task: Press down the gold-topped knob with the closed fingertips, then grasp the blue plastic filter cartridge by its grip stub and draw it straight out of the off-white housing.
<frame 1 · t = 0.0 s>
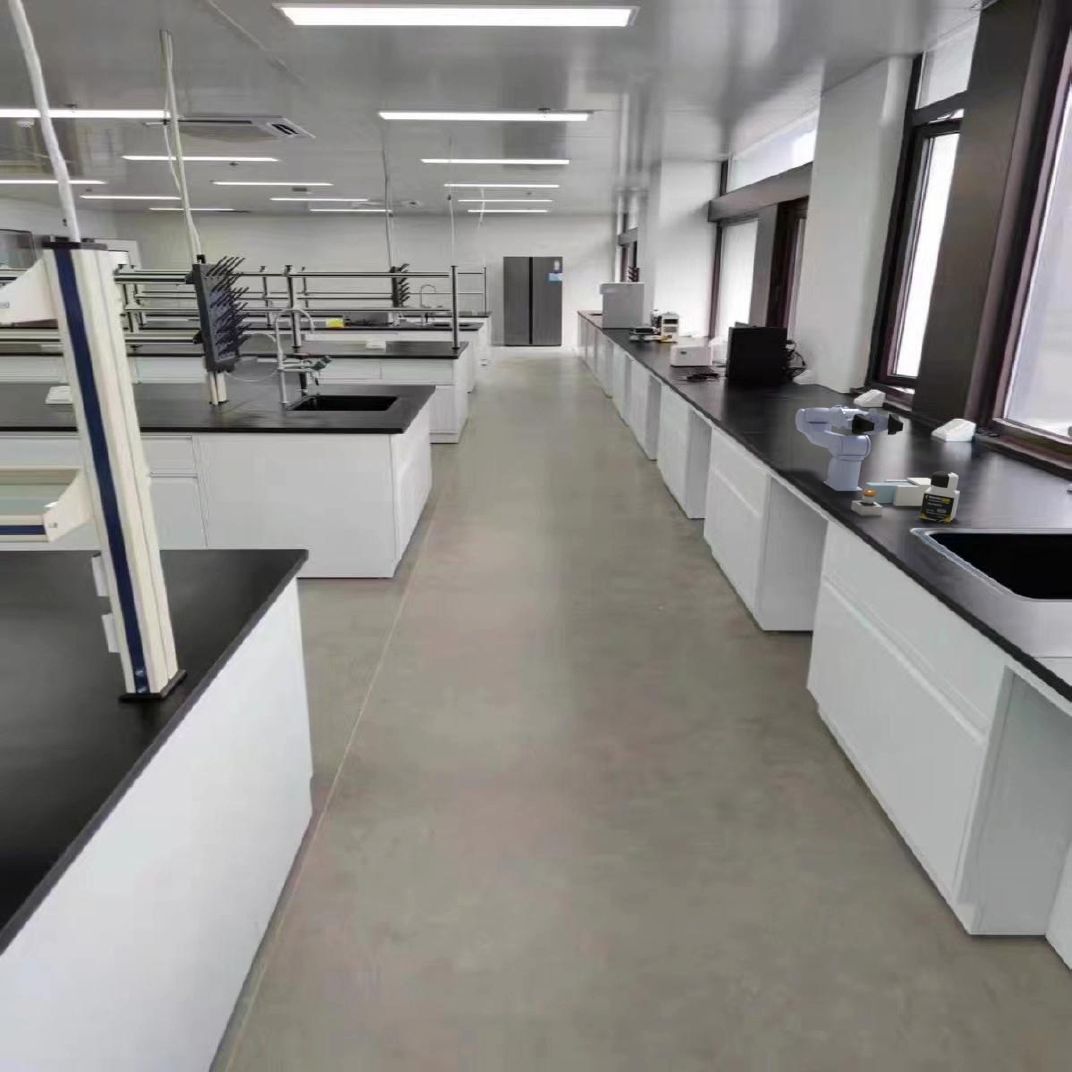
hand: (887, 426, 199), 22 cm above the counter, tool horizontal, fingers open, 7 cm apart
gold-topped knob: (868, 498, 199), point 4 cm above the counter, slide at 0.0 cm
housing: (909, 502, 211), on the counter
medicine bottle: (936, 518, 198), on the counter
cartridge: (897, 492, 210), point 3 cm above the counter, slide at 0.0 cm
plunger collar: (865, 512, 200), on the counter
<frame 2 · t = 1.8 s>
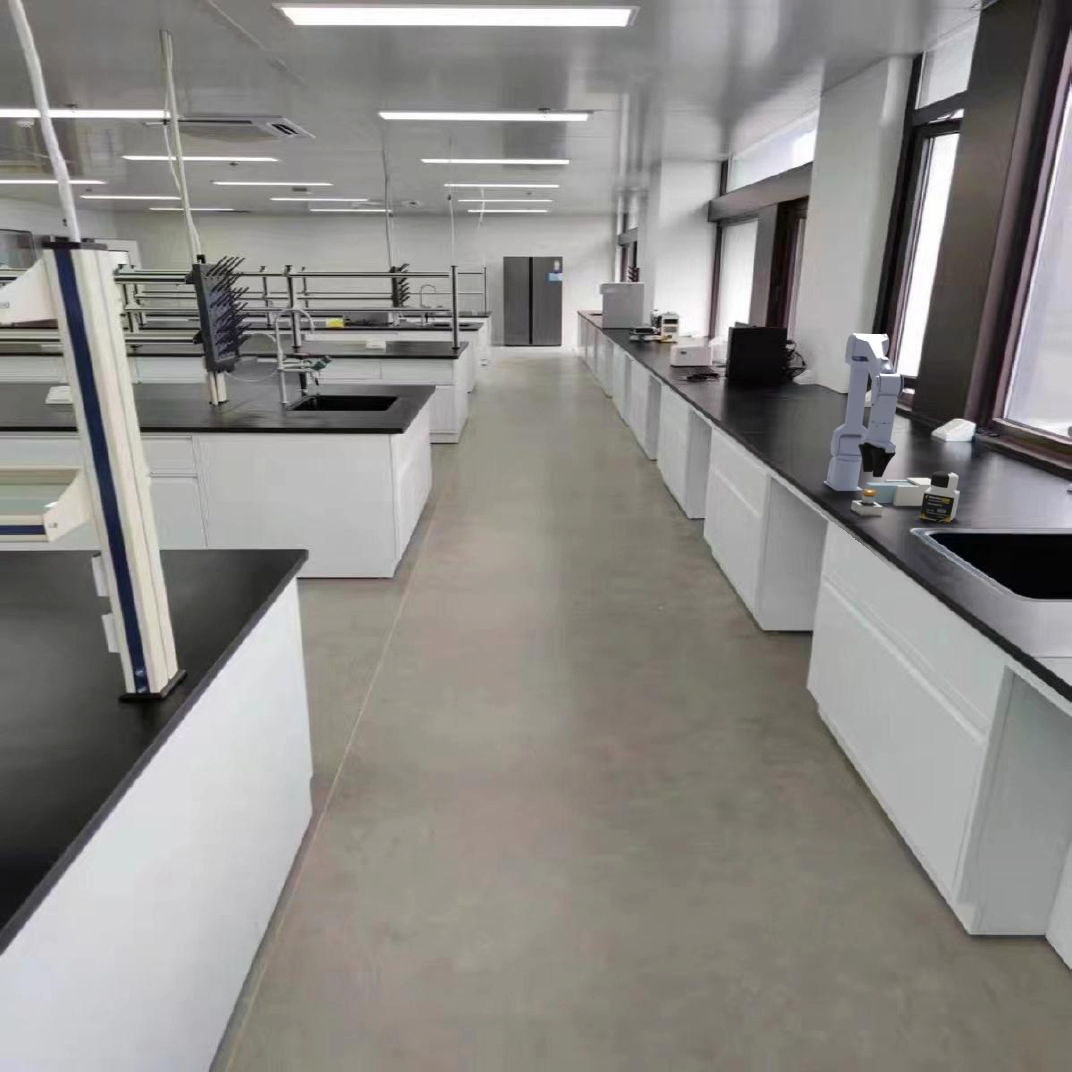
hand: (872, 474, 197), 10 cm above the counter, tool pointing down, fingers open, 5 cm apart
nothing on the counter moved.
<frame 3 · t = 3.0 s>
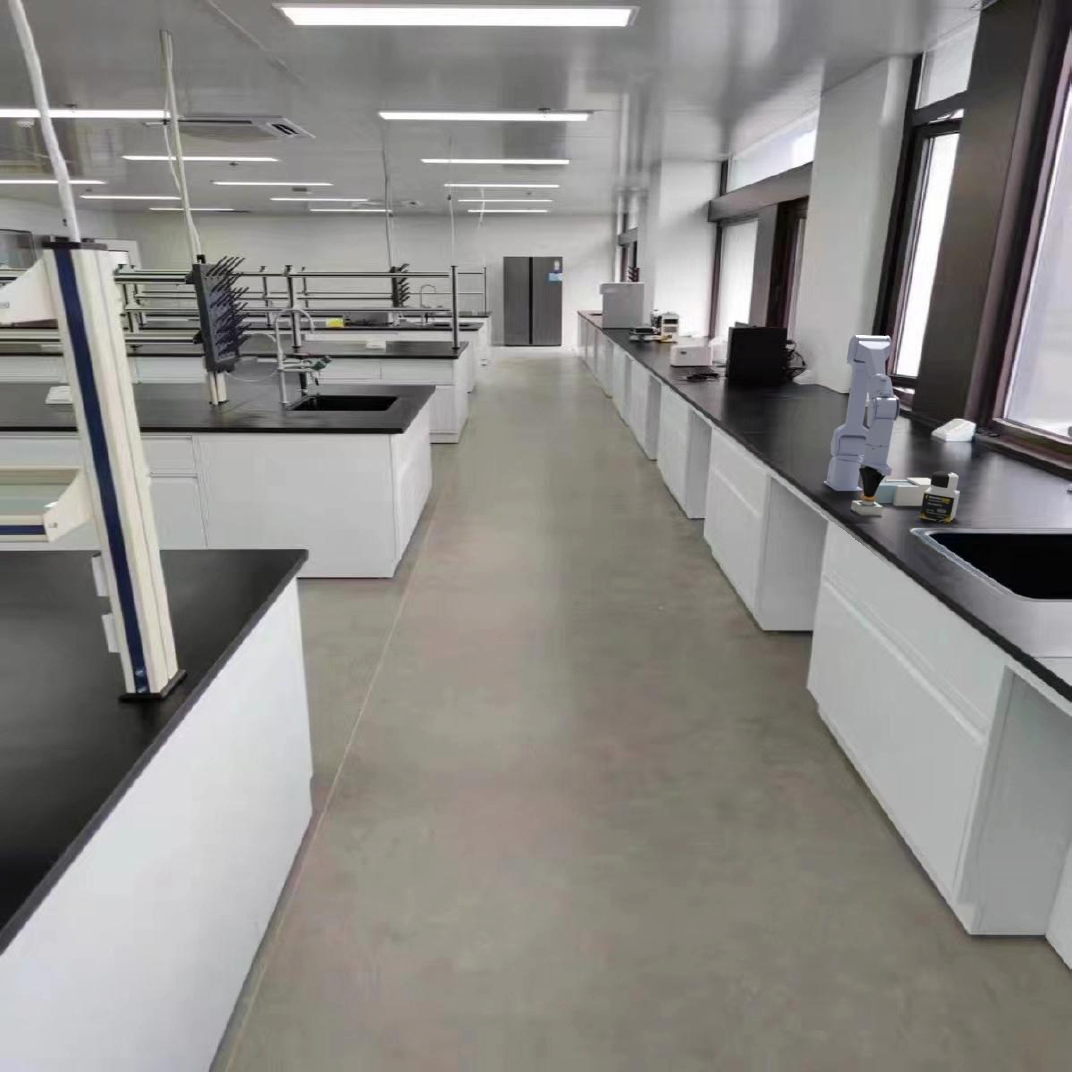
hand: (868, 496, 199), 5 cm above the counter, tool pointing down, fingers closed, pressing on gold-topped knob
gold-topped knob: (867, 503, 200), point 3 cm above the counter, slide at -1.3 cm, touching gripper
everything else where it was.
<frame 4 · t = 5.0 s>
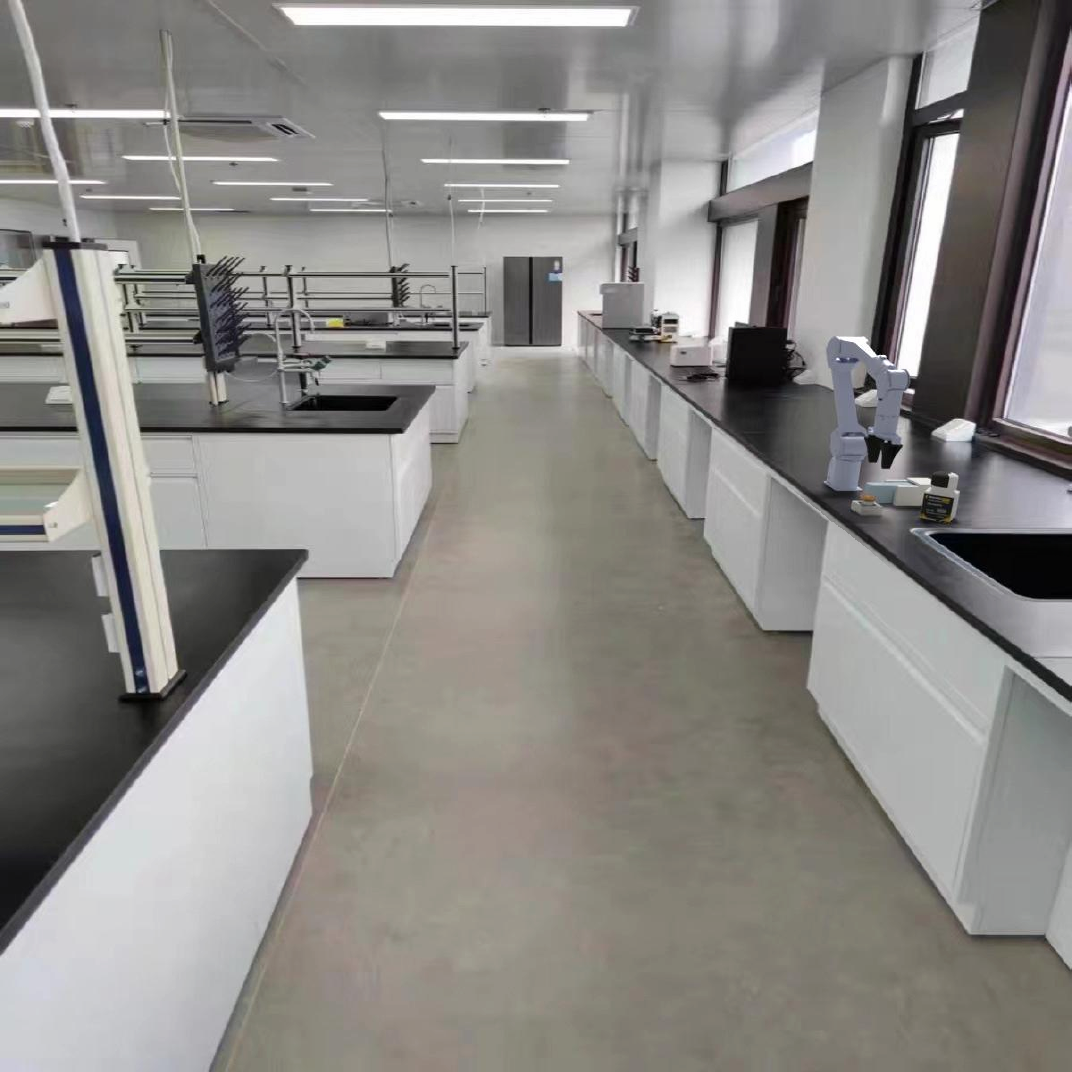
hand: (878, 465, 207), 10 cm above the counter, tool pointing down, fingers open, 7 cm apart
gold-topped knob: (867, 503, 200), point 3 cm above the counter, slide at -1.3 cm
everything else where it was.
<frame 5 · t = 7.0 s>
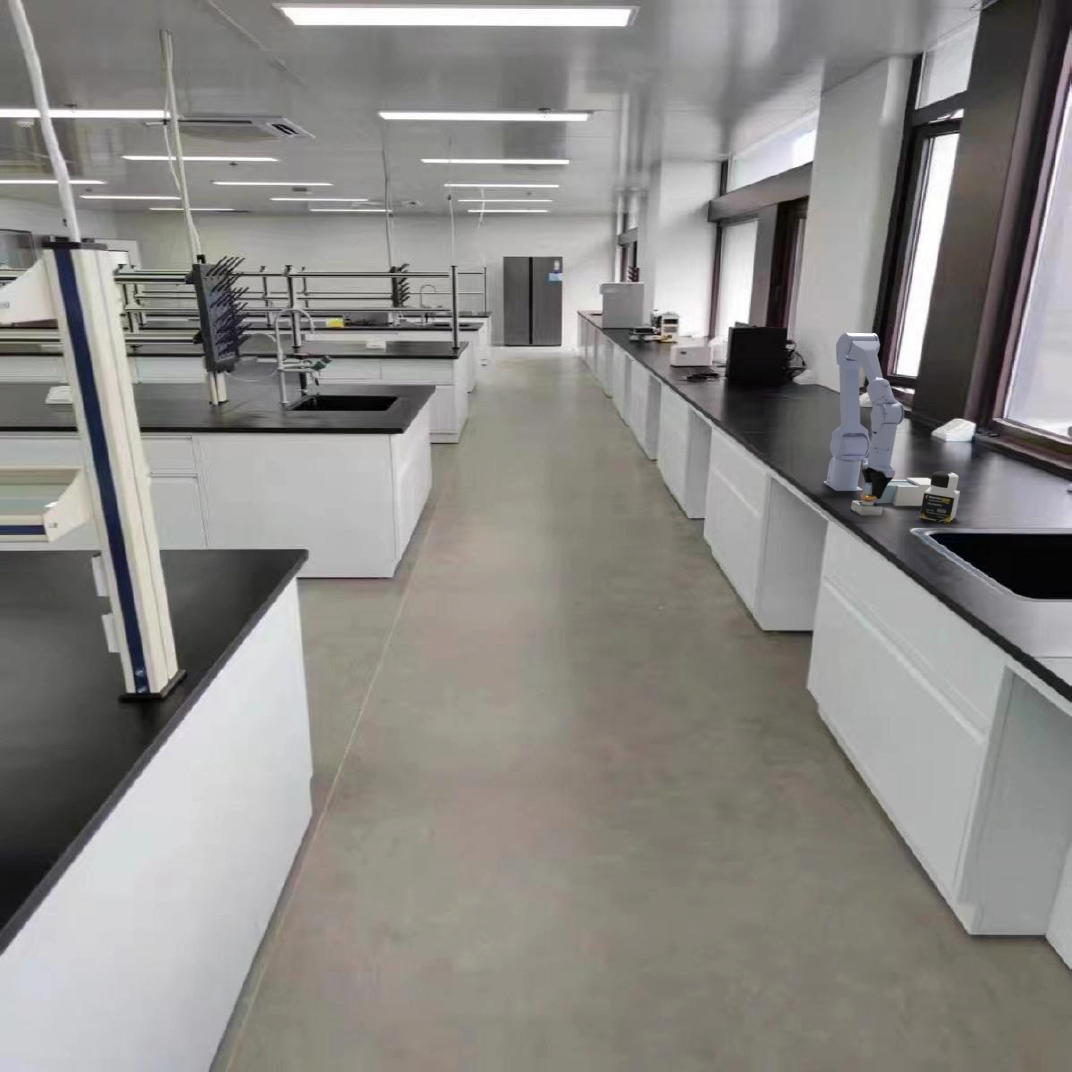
hand: (873, 496, 210), 2 cm above the counter, tool pointing down, fingers closed on cartridge, 3 cm apart
cartridge: (897, 492, 210), point 3 cm above the counter, slide at 0.0 cm, touching gripper
everything else where it was.
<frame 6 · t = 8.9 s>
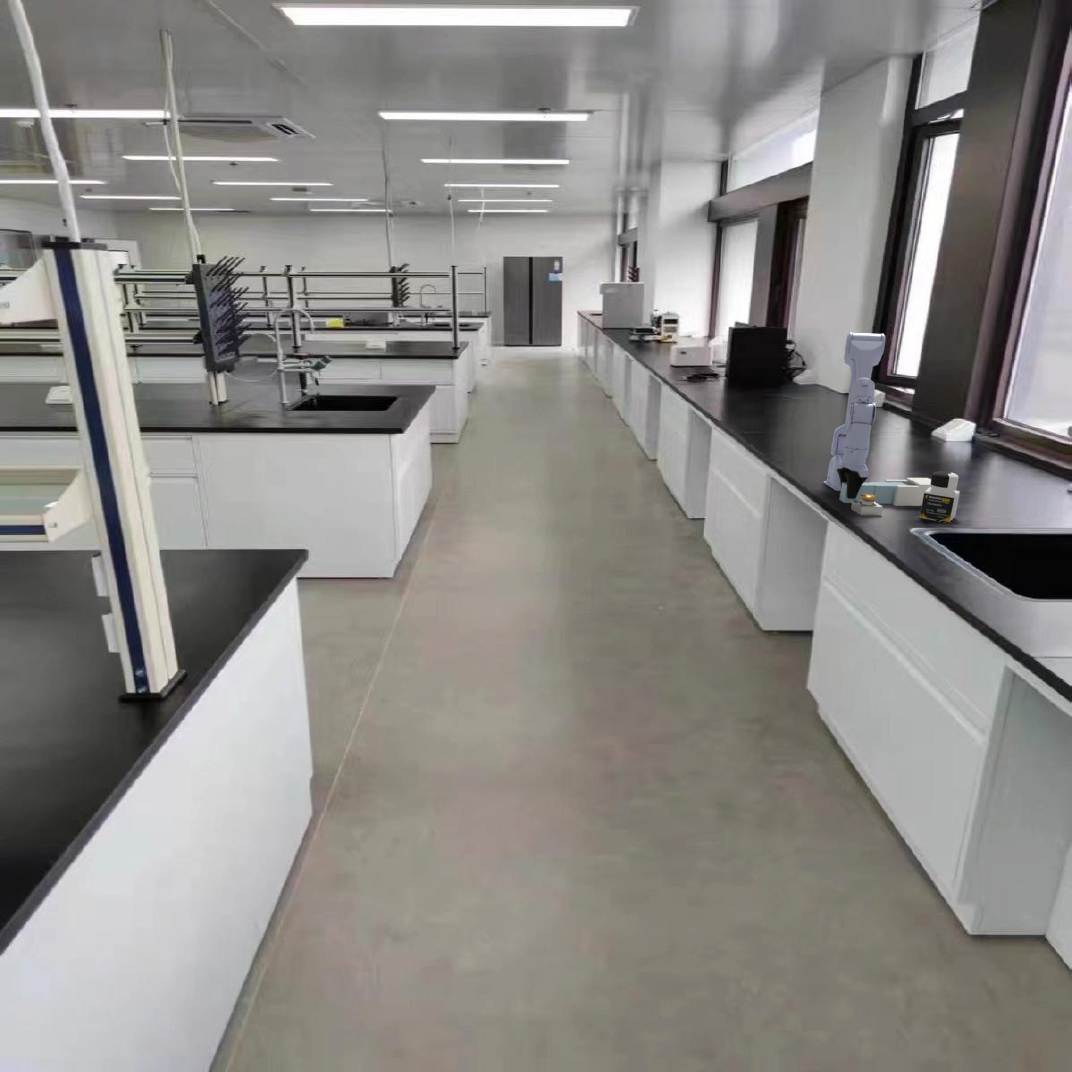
hand: (848, 496, 209), 2 cm above the counter, tool pointing down, fingers closed on cartridge, 3 cm apart
cartridge: (873, 492, 209), point 3 cm above the counter, slide at 6.6 cm, touching gripper
everything else where it was.
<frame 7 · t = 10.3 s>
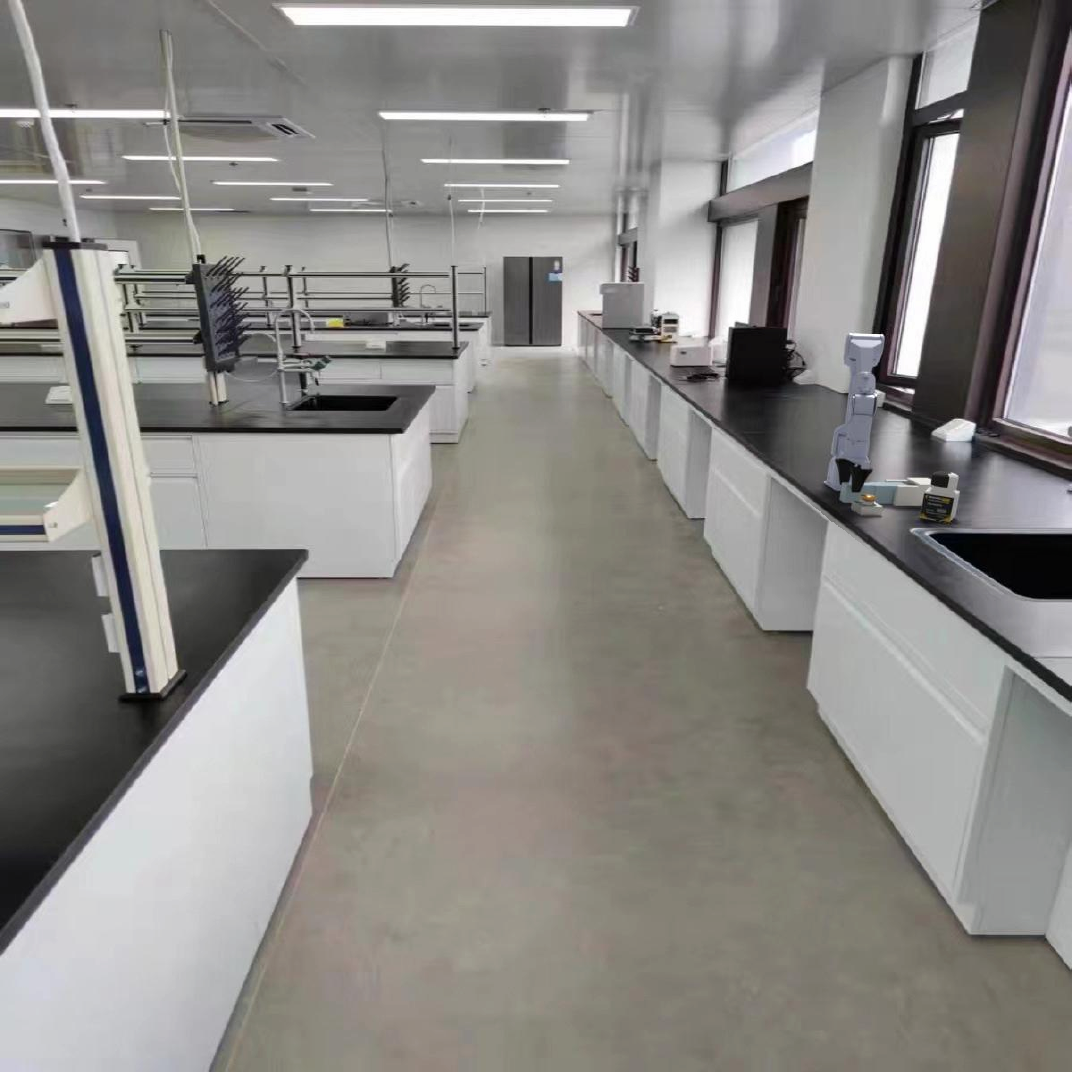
hand: (849, 488, 209), 4 cm above the counter, tool pointing down, fingers open, 7 cm apart
cartridge: (873, 492, 209), point 3 cm above the counter, slide at 6.6 cm
everything else where it was.
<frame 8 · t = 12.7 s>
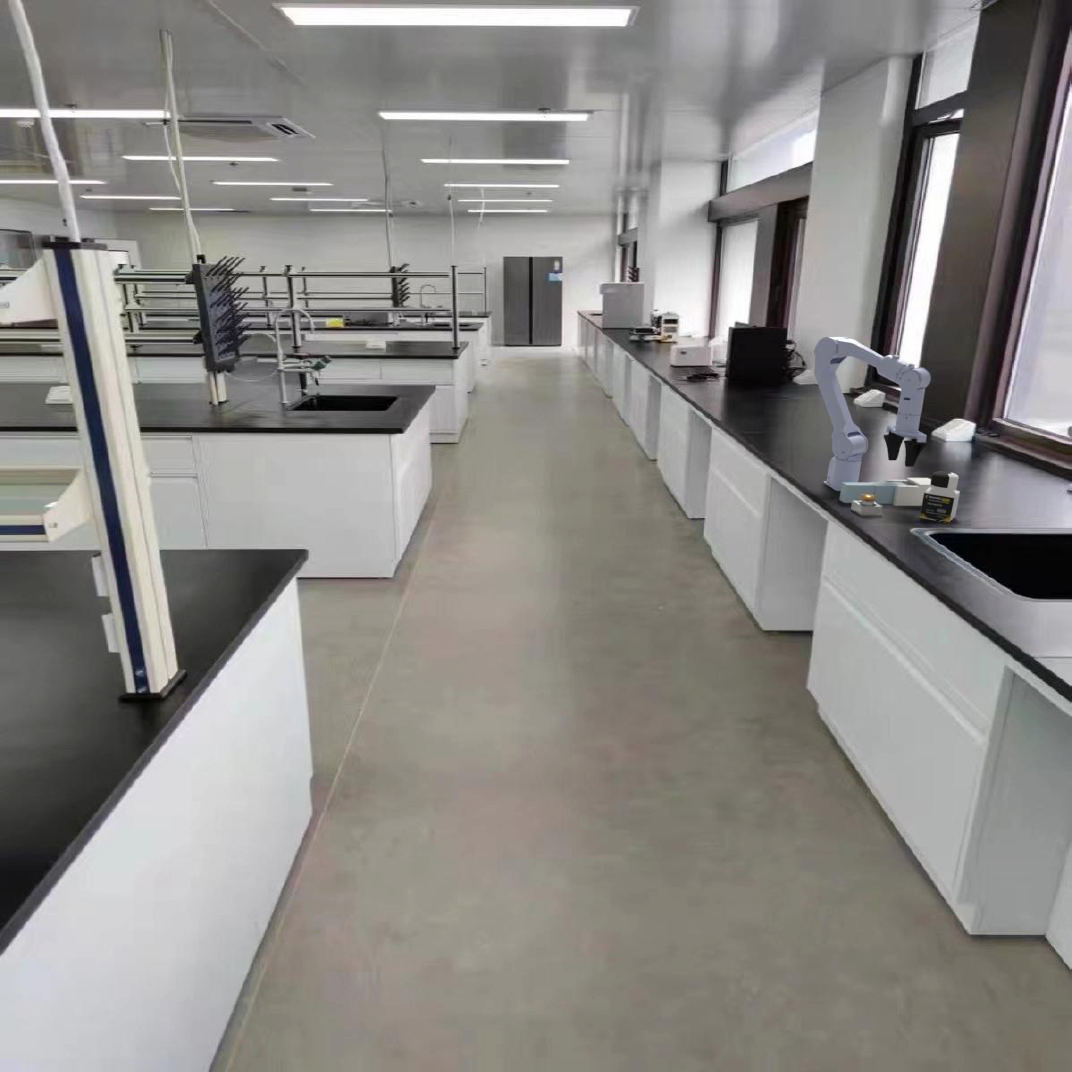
hand: (900, 463, 210), 10 cm above the counter, tool pointing down, fingers open, 7 cm apart
nothing on the counter moved.
at the end: cartridge slide at 6.6 cm; gold-topped knob slide at -1.3 cm; the gripper is holding nothing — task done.
